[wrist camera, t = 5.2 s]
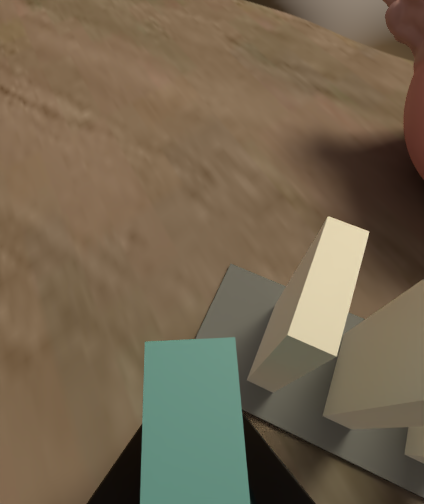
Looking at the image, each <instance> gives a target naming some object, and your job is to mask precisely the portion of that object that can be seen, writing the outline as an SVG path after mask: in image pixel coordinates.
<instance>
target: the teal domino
mask: <svg viewBox="0 0 424 504" xmlns="http://www.w3.org/2000/svg"><path fill="white" fill-rule="evenodd" d="M140 504H250V495H249V484H248V473H247V462H246V451H245V440H244V429H243V418H242V407H241V396H240V385H239V374H238V363H237V352H236V341H235V337H229V338H209V339H189V340H170V341H150V342H145V357H144V389H143V422H142V455H141V488H140Z"/></svg>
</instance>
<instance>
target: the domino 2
mask: <svg viewBox="0 0 424 504" xmlns="http://www.w3.org/2000/svg"><path fill="white" fill-rule="evenodd" d="M323 417H326V418H328V419H330V420H332V421H334V422H336V423H338V424H340V425H343V426H345V427H347V428H349V429H372V428H397V427H421V426H424V279H423V280H421V281H420V282H418V283H417V284H415V285H414V286H413V287H411V288H410V289H408V290H407V291H405V292H404V293H402V294H401V295H400V296H398V297H397V298H395V299H394V300H392V301H391V302H389V303H388V304H387V305H385V306H384V307H382V308H381V309H379V310H378V311H376V312H375V313H374V314H372V315H371V316H369V317H368V318H366V319H365V320H363V321H362V322H361V323H359V324H358V325H356V326H355V327H353V328H352V329H350V330H349V331H348V332H346V333H345V334H344V335H343V339H342V343H341V347H340V351H339V355H338V358H337V362H336V366H335V370H334V374H333V378H332V381H331V385H330V389H329V393H328V397H327V401H326V404H325V408H324V412H323Z"/></svg>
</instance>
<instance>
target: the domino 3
mask: <svg viewBox="0 0 424 504" xmlns="http://www.w3.org/2000/svg"><path fill="white" fill-rule="evenodd" d="M404 455H406V456H408V457H411V458H413V459H415V460H417V461H419V462H421V463H423V464H424V426H421V427H408V433H407V440H406V447H405V454H404Z"/></svg>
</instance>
